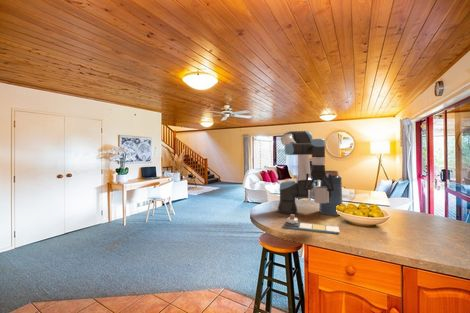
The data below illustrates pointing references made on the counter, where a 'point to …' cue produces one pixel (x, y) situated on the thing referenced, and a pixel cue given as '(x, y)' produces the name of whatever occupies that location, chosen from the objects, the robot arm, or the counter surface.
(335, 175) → the vase
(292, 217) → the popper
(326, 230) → the game board
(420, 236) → the counter surface
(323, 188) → the cup
